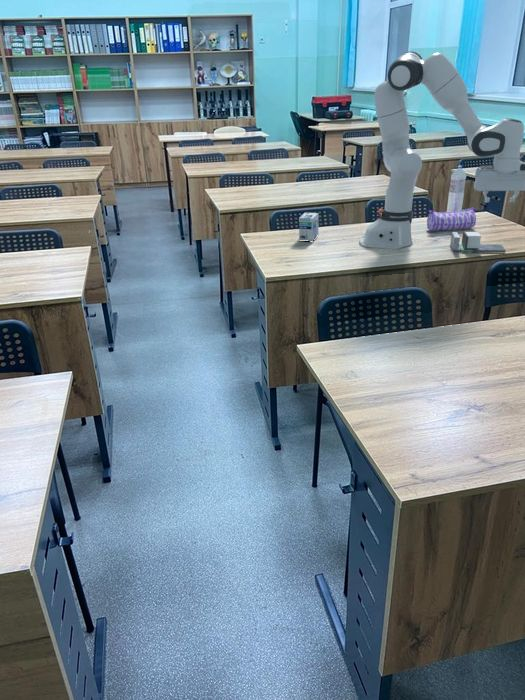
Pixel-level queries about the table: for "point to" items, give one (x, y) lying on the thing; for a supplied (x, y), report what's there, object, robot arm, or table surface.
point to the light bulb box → (308, 226)
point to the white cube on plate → (471, 239)
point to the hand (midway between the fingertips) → (499, 202)
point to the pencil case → (451, 220)
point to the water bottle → (456, 190)
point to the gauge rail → (482, 248)
